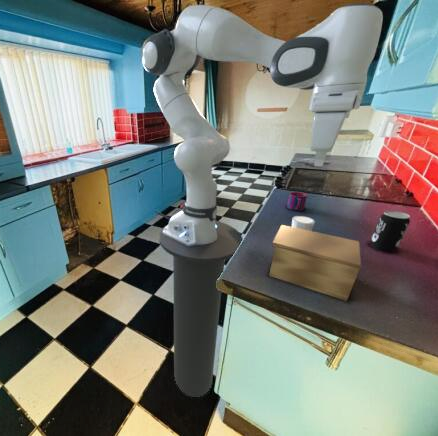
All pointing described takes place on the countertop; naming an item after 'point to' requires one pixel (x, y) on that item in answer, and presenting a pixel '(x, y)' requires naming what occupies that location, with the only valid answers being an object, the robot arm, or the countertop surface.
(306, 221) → the white fluted cylinder
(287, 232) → the chest lid
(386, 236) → the beverage can
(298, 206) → the mug
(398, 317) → the countertop surface
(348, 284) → the chest
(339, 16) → the robot arm
